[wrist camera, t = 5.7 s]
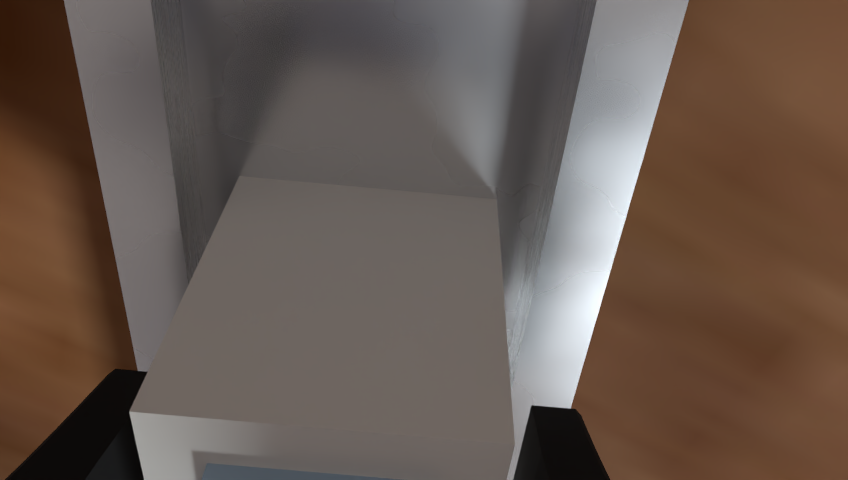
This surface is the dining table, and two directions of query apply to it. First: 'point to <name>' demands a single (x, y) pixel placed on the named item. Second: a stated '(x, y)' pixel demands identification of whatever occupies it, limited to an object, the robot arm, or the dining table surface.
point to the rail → (381, 136)
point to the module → (335, 342)
